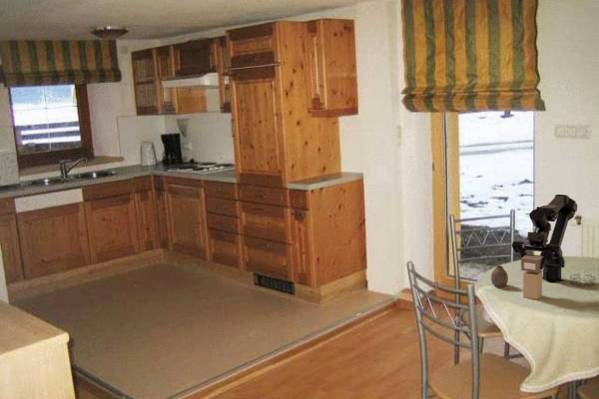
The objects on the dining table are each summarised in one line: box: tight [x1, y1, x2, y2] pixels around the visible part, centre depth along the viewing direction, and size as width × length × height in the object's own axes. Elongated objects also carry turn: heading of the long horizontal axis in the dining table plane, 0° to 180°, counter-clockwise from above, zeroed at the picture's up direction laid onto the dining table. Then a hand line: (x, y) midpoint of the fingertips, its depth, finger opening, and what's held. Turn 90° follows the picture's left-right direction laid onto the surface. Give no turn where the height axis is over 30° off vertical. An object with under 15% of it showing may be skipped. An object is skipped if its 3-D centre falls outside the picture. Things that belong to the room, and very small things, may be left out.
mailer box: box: [522, 270, 543, 300], centre depth 255 cm, size 6×6×10 cm
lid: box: [520, 253, 544, 273], centre depth 253 cm, size 7×7×5 cm
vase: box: [490, 264, 509, 288], centre depth 270 cm, size 7×7×9 cm
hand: (531, 267), depth 252 cm, fingers closed on lid, 7 cm apart
